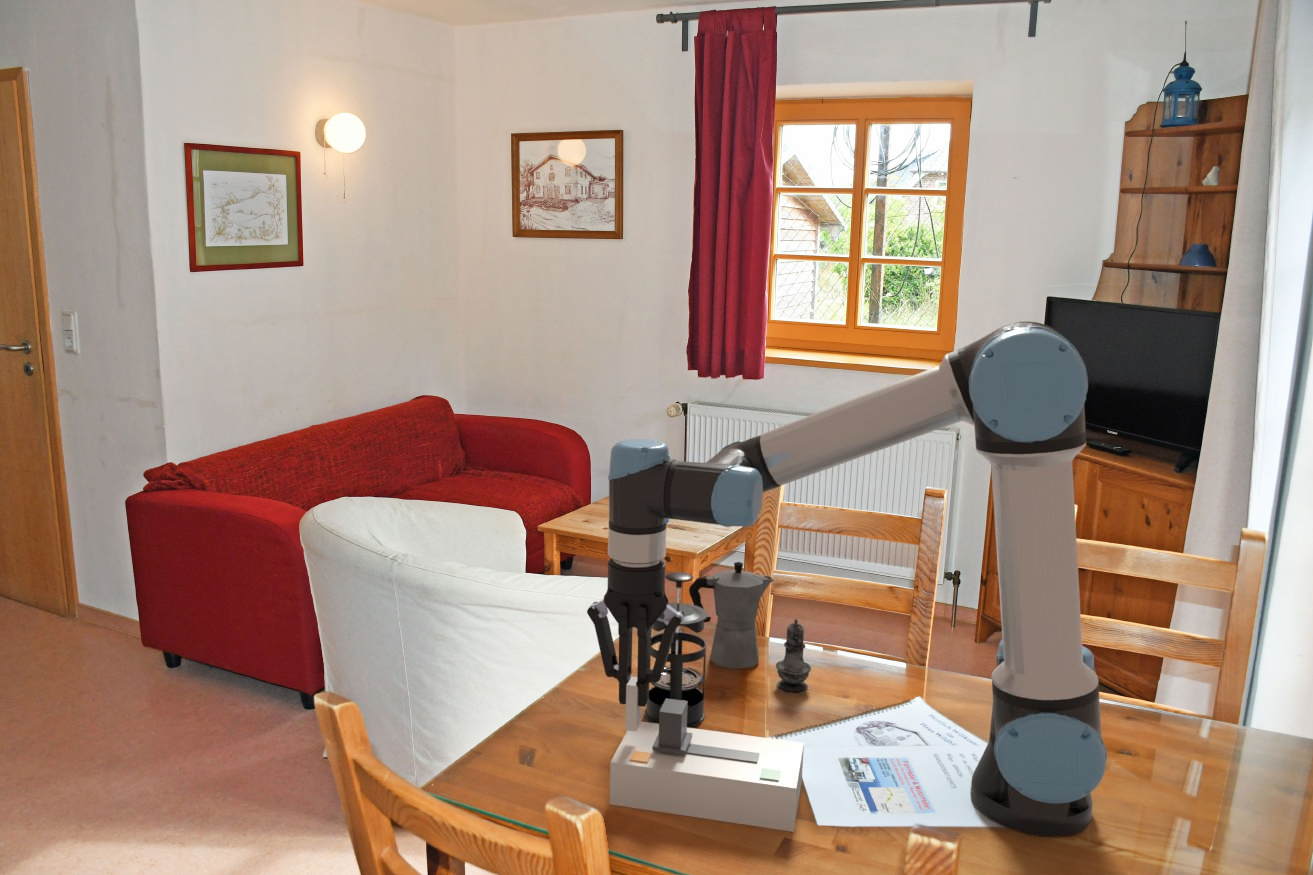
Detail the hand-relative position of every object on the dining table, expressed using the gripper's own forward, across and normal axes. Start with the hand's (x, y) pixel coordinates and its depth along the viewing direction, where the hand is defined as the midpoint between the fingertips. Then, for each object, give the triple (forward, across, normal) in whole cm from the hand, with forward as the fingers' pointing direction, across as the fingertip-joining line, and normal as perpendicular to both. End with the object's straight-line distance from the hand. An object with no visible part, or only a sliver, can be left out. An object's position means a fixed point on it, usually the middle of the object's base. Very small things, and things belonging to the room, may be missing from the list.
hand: (633, 726), depth 134 cm
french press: (+9, -2, -22) cm, 23 cm away
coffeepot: (+9, -6, -44) cm, 46 cm away
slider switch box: (+8, -10, 0) cm, 13 cm away
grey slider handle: (+2, -5, 0) cm, 6 cm away
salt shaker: (+9, -18, -36) cm, 42 cm away
